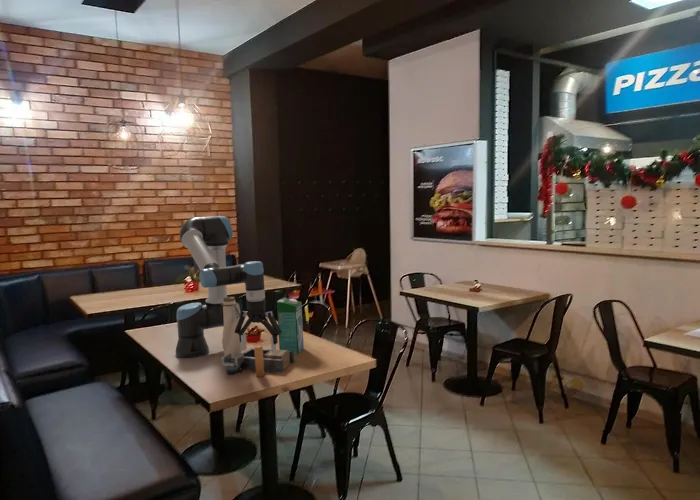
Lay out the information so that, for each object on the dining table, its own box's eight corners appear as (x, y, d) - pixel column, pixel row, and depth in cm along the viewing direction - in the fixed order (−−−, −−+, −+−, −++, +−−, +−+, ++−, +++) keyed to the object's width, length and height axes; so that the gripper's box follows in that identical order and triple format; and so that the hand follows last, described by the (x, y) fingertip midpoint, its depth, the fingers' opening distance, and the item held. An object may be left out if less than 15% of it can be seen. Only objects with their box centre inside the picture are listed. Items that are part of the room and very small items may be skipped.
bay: (236, 368, 223) (236, 357, 223) (252, 358, 236) (251, 348, 235) (281, 372, 217) (280, 360, 216) (294, 362, 229) (294, 351, 228)
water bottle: (249, 355, 241) (245, 296, 237) (238, 361, 232) (235, 300, 229) (229, 354, 244) (226, 295, 241) (219, 360, 236) (215, 299, 232)
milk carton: (298, 354, 240) (295, 301, 237) (279, 353, 242) (276, 301, 239) (303, 348, 249) (301, 297, 246) (285, 347, 250) (283, 296, 248)
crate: (264, 368, 222) (264, 354, 221) (273, 362, 230) (272, 349, 229) (281, 370, 219) (281, 356, 219) (290, 363, 227) (289, 350, 226)
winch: (221, 374, 217) (220, 358, 216) (230, 368, 224) (229, 352, 223) (236, 375, 214) (235, 359, 213) (246, 369, 221) (245, 353, 220)
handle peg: (254, 376, 213) (252, 348, 211) (258, 373, 216) (256, 345, 215) (261, 377, 212) (260, 348, 210) (265, 374, 215) (264, 346, 213)
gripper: (223, 300, 211) (227, 351, 213) (279, 302, 203) (282, 355, 205) (233, 297, 218) (237, 346, 220) (287, 298, 210) (290, 349, 212)
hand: (259, 350), depth 212 cm, fingers open, 13 cm apart
